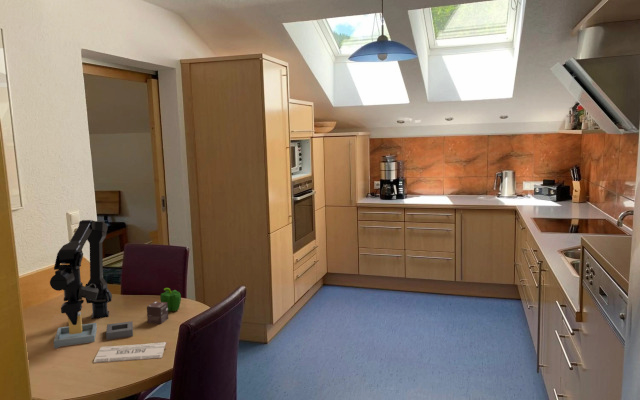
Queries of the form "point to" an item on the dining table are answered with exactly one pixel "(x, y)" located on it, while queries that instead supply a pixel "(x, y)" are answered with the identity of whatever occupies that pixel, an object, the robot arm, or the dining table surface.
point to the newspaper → (130, 352)
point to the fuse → (75, 328)
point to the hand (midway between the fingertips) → (75, 323)
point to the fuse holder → (119, 330)
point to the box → (157, 312)
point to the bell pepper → (171, 299)
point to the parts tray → (75, 336)
